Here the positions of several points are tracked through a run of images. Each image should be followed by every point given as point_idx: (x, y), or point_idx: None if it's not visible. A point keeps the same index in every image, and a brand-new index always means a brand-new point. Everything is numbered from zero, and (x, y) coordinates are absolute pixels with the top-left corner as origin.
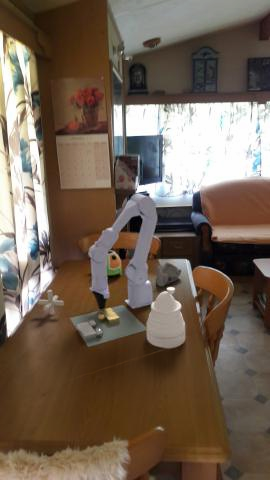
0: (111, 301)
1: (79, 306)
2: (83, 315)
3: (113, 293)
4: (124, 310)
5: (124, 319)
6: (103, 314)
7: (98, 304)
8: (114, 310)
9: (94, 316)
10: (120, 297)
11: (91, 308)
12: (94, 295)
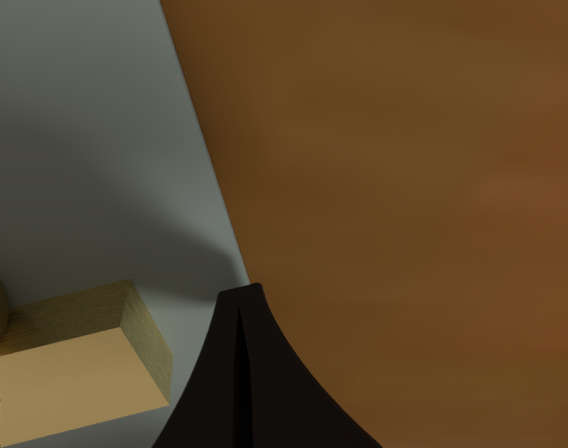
0: (413, 353)
1: (504, 23)
2: (152, 60)
3: (547, 365)
4: None
5: None
6: (21, 338)
7: (206, 345)
8: None
9: (92, 211)
10: (444, 402)
11: (358, 183)
12: (284, 445)
